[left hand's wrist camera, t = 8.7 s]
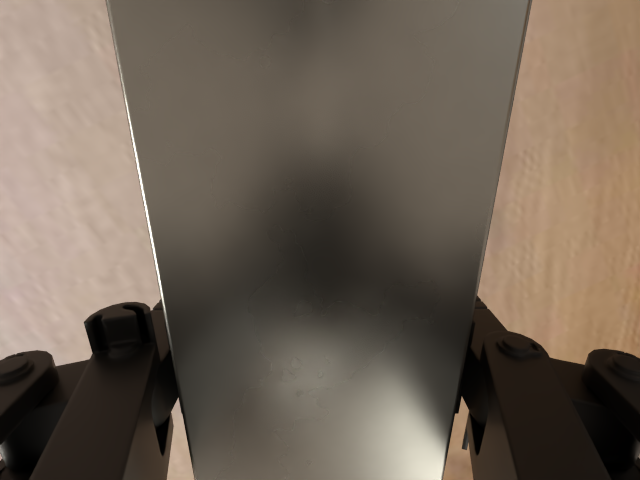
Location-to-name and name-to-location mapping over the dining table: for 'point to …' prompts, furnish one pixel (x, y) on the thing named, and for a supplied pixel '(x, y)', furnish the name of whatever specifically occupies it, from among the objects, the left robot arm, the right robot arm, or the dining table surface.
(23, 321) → the dining table surface
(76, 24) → the dining table surface
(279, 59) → the bar
